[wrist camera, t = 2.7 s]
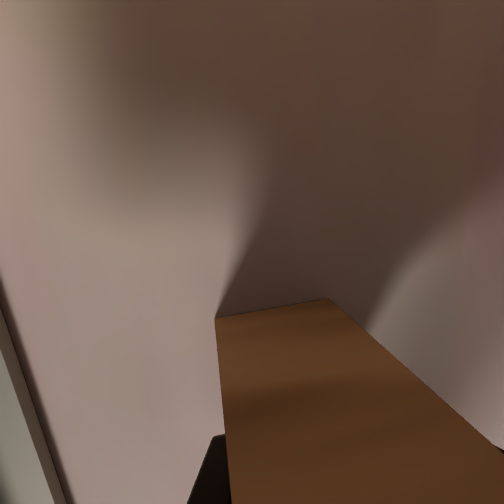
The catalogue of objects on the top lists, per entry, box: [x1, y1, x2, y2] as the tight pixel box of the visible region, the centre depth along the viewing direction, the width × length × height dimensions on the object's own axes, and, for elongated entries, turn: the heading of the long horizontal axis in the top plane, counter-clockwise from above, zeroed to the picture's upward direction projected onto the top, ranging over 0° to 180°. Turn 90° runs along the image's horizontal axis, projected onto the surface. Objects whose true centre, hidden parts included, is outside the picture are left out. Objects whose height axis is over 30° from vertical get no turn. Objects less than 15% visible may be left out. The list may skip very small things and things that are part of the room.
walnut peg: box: [214, 299, 504, 504], centre depth 7 cm, size 4×4×8 cm
